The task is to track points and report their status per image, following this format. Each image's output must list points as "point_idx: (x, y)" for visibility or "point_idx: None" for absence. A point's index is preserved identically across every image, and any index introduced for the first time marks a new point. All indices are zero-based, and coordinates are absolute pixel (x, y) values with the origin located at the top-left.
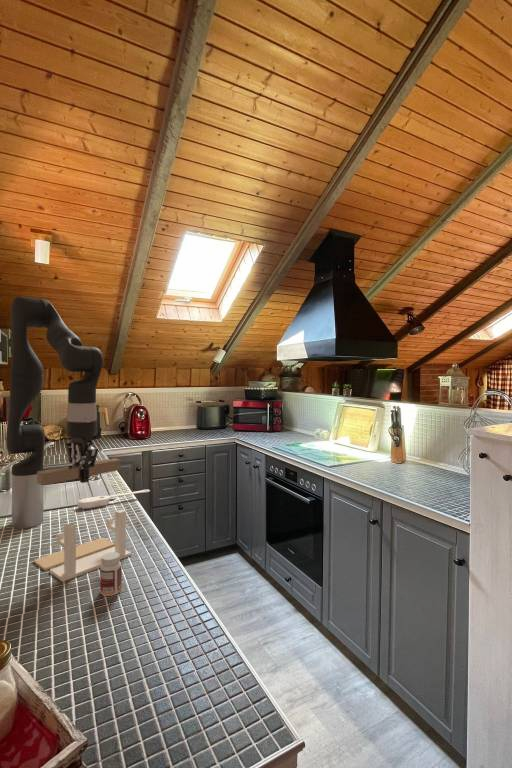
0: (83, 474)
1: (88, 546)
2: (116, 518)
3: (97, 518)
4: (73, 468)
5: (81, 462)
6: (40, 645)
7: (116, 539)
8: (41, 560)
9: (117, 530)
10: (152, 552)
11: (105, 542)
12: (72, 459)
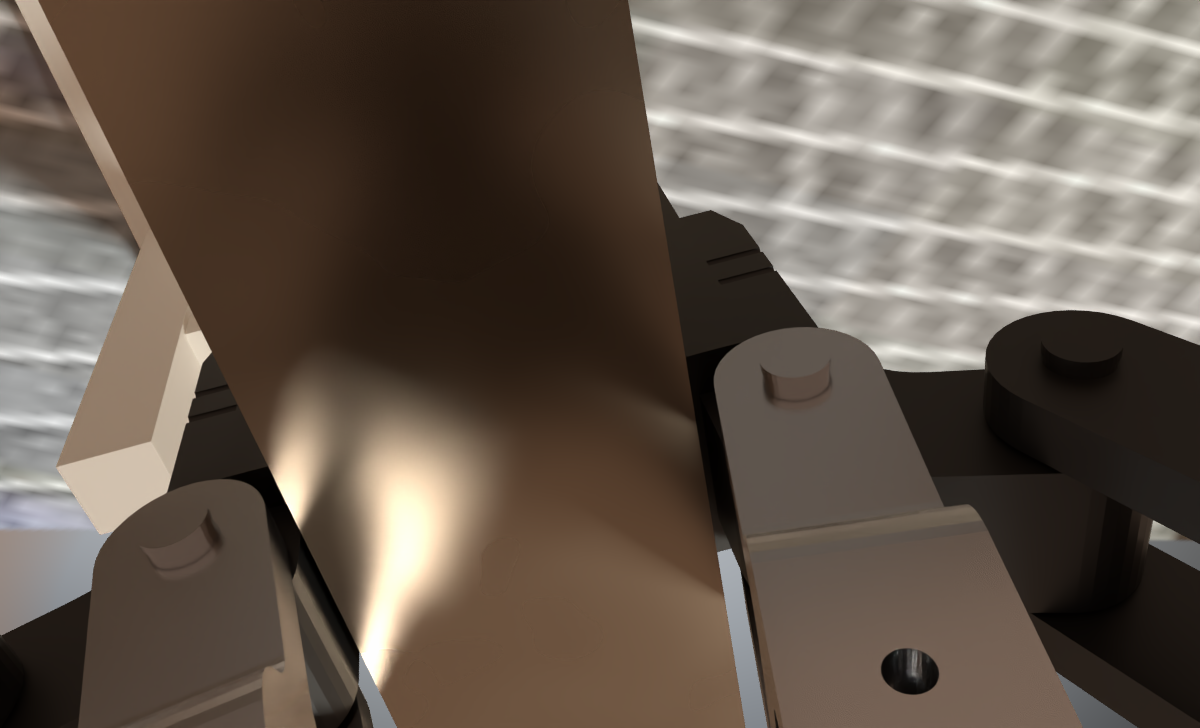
0: (202, 436)
1: None
2: (134, 400)
3: (1082, 269)
4: (188, 291)
5: (119, 702)
6: None
7: (168, 281)
8: None
9: (138, 334)
10: None
11: None
12: (1041, 461)
